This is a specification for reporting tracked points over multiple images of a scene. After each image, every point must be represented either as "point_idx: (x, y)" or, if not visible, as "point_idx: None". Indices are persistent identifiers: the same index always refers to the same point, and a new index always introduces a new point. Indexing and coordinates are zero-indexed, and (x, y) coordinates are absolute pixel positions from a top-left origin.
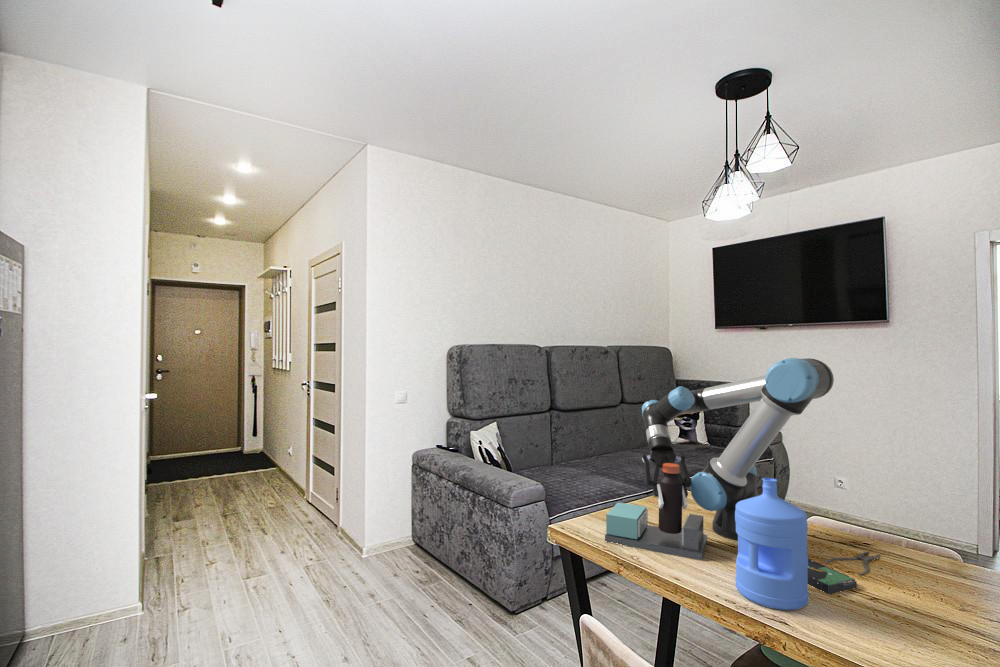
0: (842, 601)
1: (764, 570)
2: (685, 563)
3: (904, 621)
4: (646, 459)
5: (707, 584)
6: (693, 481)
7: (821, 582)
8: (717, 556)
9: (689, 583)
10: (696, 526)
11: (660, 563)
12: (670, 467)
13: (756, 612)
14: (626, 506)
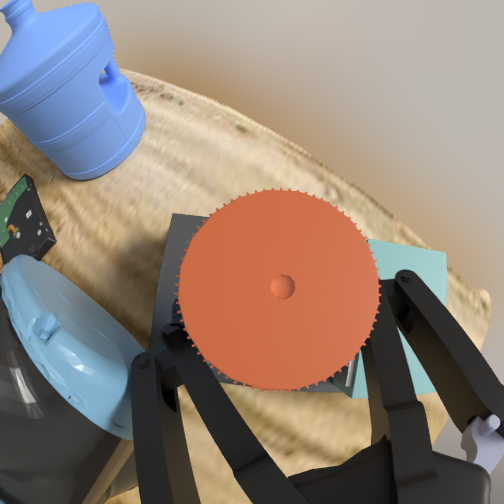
0: (29, 166)
1: (101, 83)
2: (222, 200)
3: (7, 151)
4: (499, 402)
5: (189, 128)
6: (118, 362)
7: (27, 180)
8: (145, 269)
9: (220, 121)
10: (174, 246)
11: (276, 181)
12: (283, 195)
13: (140, 87)
14: (412, 363)
